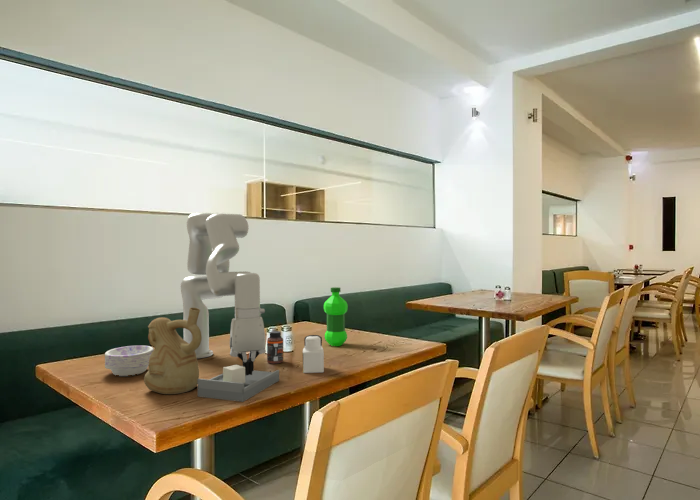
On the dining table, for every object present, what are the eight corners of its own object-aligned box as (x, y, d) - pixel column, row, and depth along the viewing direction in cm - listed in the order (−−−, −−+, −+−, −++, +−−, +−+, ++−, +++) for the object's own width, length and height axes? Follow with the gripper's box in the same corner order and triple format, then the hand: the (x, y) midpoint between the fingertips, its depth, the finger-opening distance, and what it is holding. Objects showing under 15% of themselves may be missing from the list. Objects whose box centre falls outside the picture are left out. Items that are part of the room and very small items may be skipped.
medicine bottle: (303, 367, 164) (302, 334, 164) (323, 367, 164) (323, 333, 164) (302, 373, 157) (302, 338, 157) (323, 372, 157) (323, 337, 157)
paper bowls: (106, 381, 148) (106, 357, 148) (103, 371, 161) (103, 348, 161) (157, 374, 156) (157, 351, 156) (150, 365, 169) (149, 343, 169)
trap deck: (197, 396, 133) (197, 379, 133) (238, 376, 153) (238, 361, 153) (243, 401, 128) (242, 383, 128) (279, 380, 148) (279, 364, 148)
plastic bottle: (333, 341, 209) (333, 286, 209) (352, 344, 203) (352, 287, 202) (319, 345, 201) (318, 288, 201) (338, 348, 195) (338, 289, 194)
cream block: (223, 383, 137) (223, 367, 137) (236, 379, 141) (236, 364, 141) (231, 386, 134) (231, 370, 134) (245, 382, 138) (245, 367, 138)
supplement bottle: (280, 364, 169) (279, 333, 169) (264, 363, 170) (264, 333, 170) (285, 360, 174) (285, 330, 174) (270, 359, 176) (270, 330, 176)
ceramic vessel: (170, 378, 152) (169, 302, 152) (218, 384, 144) (218, 304, 144) (127, 393, 136) (126, 308, 136) (179, 401, 129) (178, 312, 128)
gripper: (267, 310, 147) (268, 368, 147) (220, 314, 140) (220, 374, 140) (275, 313, 140) (275, 373, 140) (225, 317, 134) (225, 380, 134)
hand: (248, 373), depth 140 cm, fingers closed
